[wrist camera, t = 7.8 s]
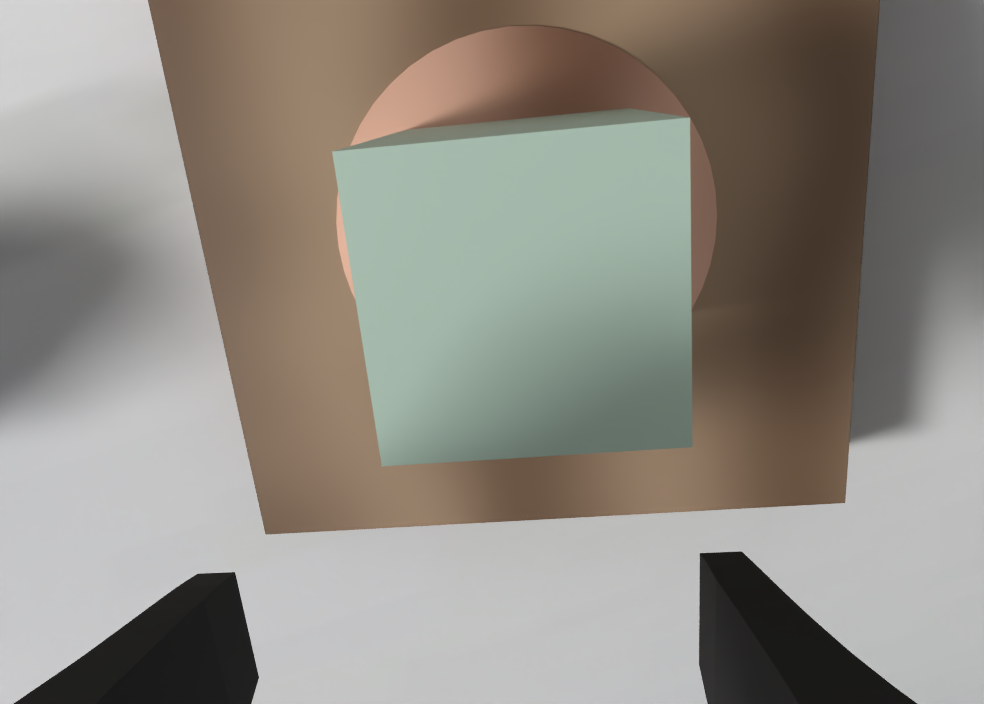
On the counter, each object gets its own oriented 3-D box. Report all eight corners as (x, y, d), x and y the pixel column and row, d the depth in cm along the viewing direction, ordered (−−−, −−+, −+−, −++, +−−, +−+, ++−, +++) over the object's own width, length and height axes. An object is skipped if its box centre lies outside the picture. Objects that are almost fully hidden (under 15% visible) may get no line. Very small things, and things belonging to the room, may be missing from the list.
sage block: (628, 108, 15) (689, 118, 9) (635, 324, 16) (692, 447, 11) (406, 129, 15) (332, 152, 10) (432, 338, 17) (381, 466, 11)
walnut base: (837, -157, 15) (895, -203, 13) (807, 454, 20) (845, 503, 17) (182, -79, 16) (123, -108, 14) (295, 484, 21) (264, 535, 19)
